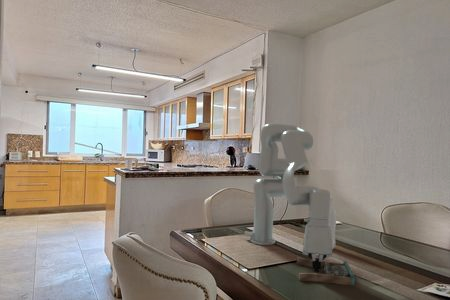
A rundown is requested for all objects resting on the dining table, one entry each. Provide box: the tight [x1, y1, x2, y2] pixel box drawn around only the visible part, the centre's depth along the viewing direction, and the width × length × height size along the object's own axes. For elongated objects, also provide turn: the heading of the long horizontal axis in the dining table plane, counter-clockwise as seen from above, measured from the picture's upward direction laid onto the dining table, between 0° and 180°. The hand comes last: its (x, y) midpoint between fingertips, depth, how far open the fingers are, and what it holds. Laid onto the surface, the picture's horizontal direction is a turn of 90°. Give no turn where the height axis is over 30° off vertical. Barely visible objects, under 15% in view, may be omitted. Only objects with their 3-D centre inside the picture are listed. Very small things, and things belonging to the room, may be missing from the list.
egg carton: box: [323, 260, 348, 277], centre depth 112 cm, size 11×8×4 cm
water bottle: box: [329, 195, 338, 250], centre depth 146 cm, size 7×7×25 cm
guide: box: [296, 256, 356, 287], centre depth 113 cm, size 19×17×4 cm
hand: (316, 270), depth 114 cm, fingers closed
